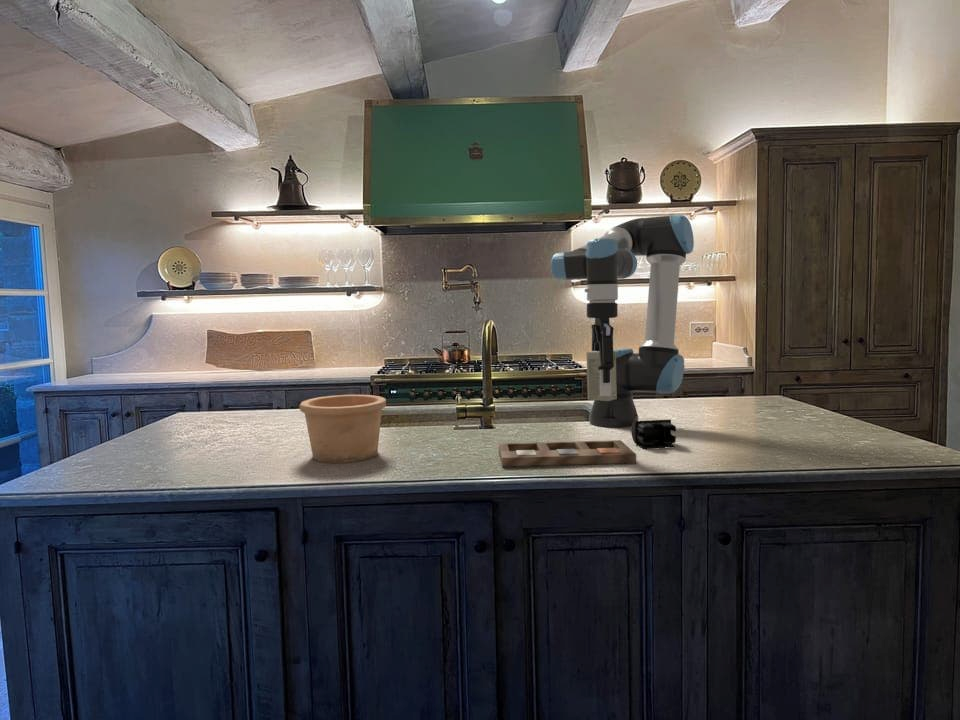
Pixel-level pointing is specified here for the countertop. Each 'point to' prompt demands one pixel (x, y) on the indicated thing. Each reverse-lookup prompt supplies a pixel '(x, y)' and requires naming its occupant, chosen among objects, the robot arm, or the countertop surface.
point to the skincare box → (594, 377)
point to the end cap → (653, 433)
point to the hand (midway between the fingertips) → (602, 393)
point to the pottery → (343, 427)
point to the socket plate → (565, 454)
